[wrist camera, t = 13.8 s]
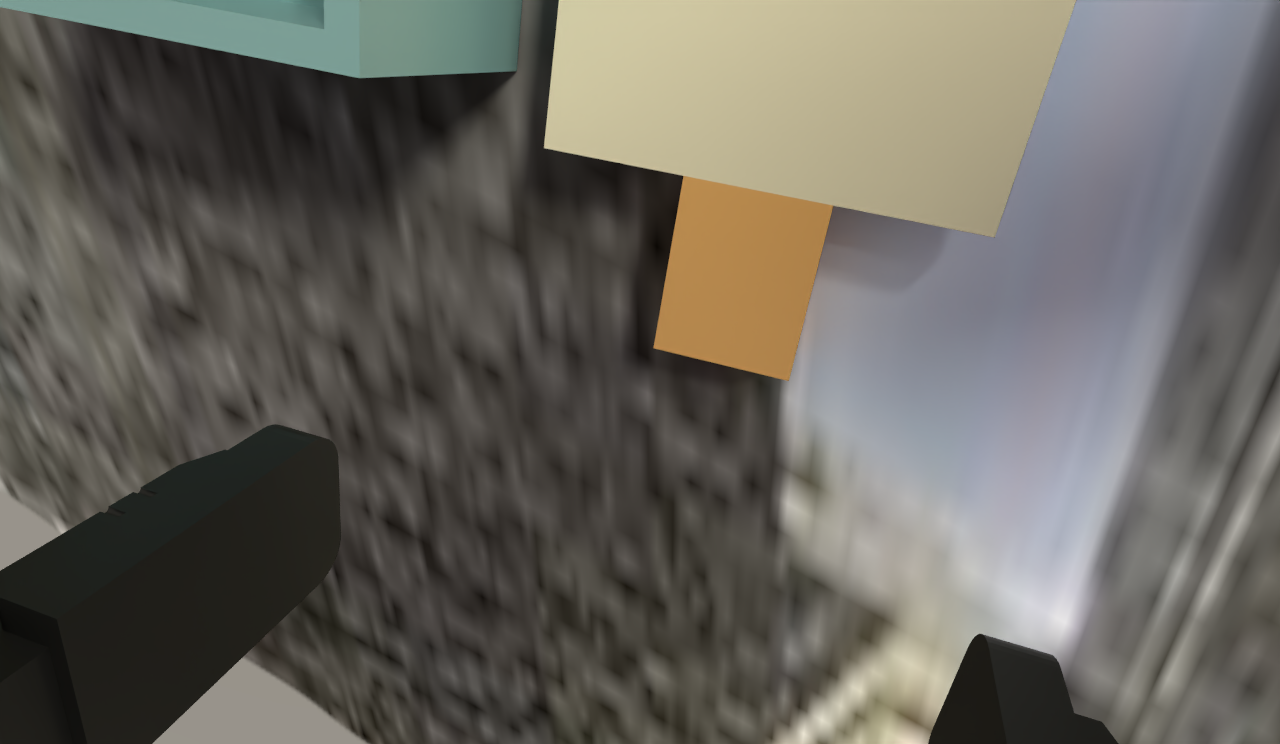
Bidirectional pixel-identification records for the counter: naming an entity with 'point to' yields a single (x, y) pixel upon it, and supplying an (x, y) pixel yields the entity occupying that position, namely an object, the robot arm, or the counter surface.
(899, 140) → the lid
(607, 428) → the counter surface
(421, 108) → the counter surface
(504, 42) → the tub
